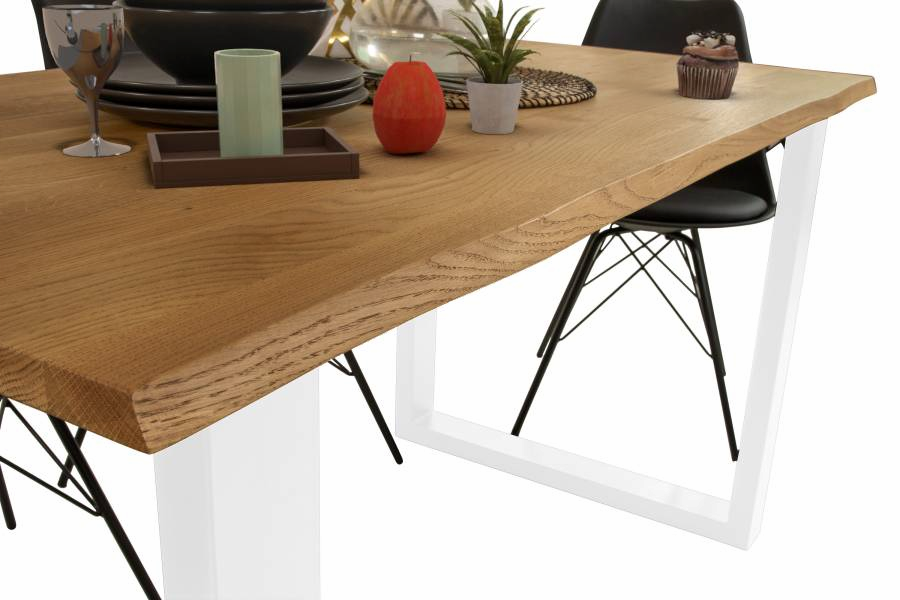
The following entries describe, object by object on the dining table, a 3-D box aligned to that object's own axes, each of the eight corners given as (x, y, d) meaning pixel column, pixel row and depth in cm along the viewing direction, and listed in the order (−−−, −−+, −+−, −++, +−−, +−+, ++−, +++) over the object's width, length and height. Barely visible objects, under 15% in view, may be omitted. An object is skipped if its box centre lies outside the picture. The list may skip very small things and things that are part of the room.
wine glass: (118, 140, 115) (106, 3, 110) (146, 152, 109) (134, 9, 104) (48, 147, 110) (31, 5, 105) (73, 160, 105) (57, 11, 99)
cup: (224, 169, 100) (218, 56, 96) (217, 156, 105) (211, 49, 102) (287, 167, 102) (284, 55, 98) (277, 154, 107) (274, 48, 103)
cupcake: (747, 96, 159) (755, 31, 156) (713, 102, 153) (720, 34, 149) (695, 89, 166) (702, 26, 162) (661, 94, 159) (667, 29, 156)
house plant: (493, 115, 137) (497, -10, 131) (573, 130, 128) (582, -4, 122) (417, 127, 127) (419, -8, 122) (499, 143, 118) (505, -1, 113)
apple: (417, 163, 107) (418, 61, 104) (356, 153, 111) (355, 54, 108) (458, 151, 114) (461, 54, 110) (399, 142, 118) (400, 48, 114)
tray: (155, 189, 94) (152, 161, 93) (148, 157, 107) (146, 132, 106) (359, 179, 100) (359, 153, 99) (329, 149, 113) (329, 126, 112)
